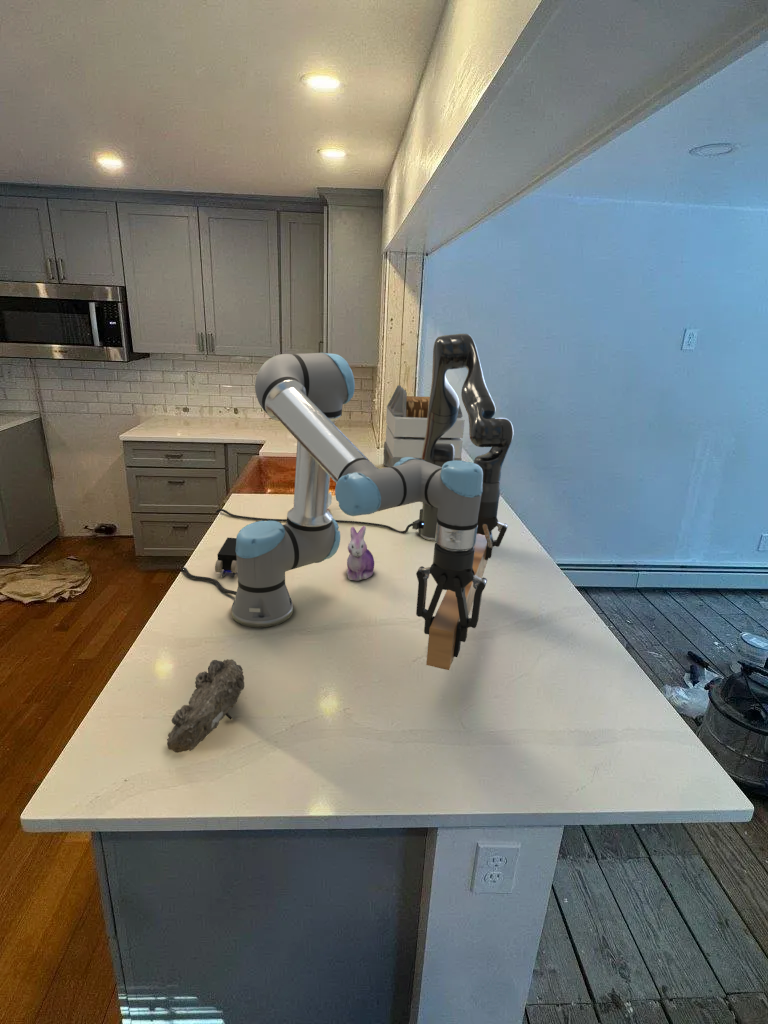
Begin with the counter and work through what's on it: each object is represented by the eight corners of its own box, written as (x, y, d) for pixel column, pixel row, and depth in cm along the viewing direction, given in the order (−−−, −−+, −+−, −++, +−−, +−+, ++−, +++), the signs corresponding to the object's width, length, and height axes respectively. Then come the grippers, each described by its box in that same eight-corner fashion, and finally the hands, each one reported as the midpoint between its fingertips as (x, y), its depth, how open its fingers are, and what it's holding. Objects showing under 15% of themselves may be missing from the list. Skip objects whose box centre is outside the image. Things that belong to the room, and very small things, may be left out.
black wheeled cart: (238, 584, 162) (249, 557, 175) (236, 562, 158) (247, 536, 172) (215, 584, 161) (227, 556, 175) (212, 561, 158) (225, 535, 171)
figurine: (352, 584, 162) (353, 535, 156) (338, 570, 170) (339, 523, 165) (381, 578, 166) (384, 531, 161) (366, 565, 174) (368, 519, 169)
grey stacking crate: (382, 463, 289) (386, 382, 275) (445, 464, 293) (451, 384, 279) (390, 482, 257) (394, 392, 243) (460, 483, 261) (468, 394, 247)
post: (470, 560, 157) (473, 532, 154) (486, 563, 155) (490, 535, 152) (426, 665, 110) (429, 627, 107) (449, 670, 109) (453, 632, 106)
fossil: (192, 660, 117) (244, 628, 112) (224, 691, 120) (276, 661, 115) (142, 746, 98) (202, 712, 93) (182, 779, 101) (242, 748, 96)
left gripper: (404, 543, 105) (396, 651, 113) (500, 560, 100) (484, 671, 108) (414, 529, 111) (406, 631, 120) (504, 544, 107) (490, 650, 115)
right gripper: (453, 496, 142) (447, 558, 148) (511, 504, 139) (502, 567, 145) (458, 488, 149) (453, 547, 155) (514, 495, 145) (505, 556, 151)
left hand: (443, 650), depth 114 cm, fingers closed on post, 5 cm apart
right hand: (477, 557), depth 150 cm, fingers closed on post, 4 cm apart
